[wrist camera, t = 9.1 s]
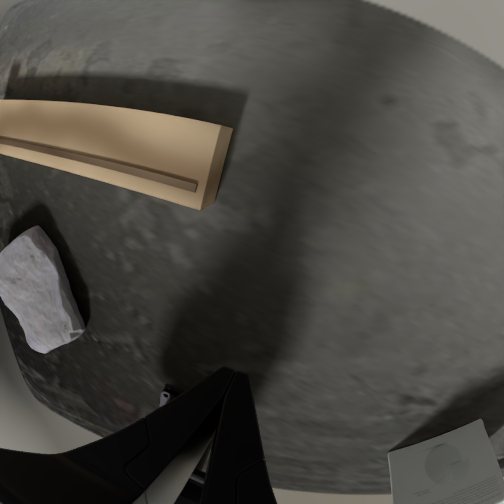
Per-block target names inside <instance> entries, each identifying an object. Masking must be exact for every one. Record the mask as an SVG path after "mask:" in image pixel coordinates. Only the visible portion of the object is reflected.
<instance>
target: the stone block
mask: <svg viewBox="0 0 504 504" xmlns="http://www.w3.org/2000/svg"><path fill="white" fill-rule="evenodd" d="M0 296H1V298H2V300H3V301H4V303H5V305H6V306H7V307H8V308H9V309H10V310H11V311H12V312H13V313H14V314H15V315H16V317H17V318H18V319H19V321H20V324H21V326H22V328H23V329H24V331H25V335H26V340H27V343H28V344H29V346H30V347H31V348H32V349H34V350H36V351H38V352H41V353H48V352H49V351H50V350H52V349H54V348H56V347H59V346H60V345H63V344H66V343H69V342H71V341H73V340H75V339H76V338H78V337H79V336H80V335H81V334H82V333H83V332H84V330H85V325H84V322H83V319H82V317H81V315H80V313H79V310H78V306H77V304H76V301H75V299H74V297H73V295H72V292H71V289H70V284H69V281H68V278H67V276H66V273H65V270H64V267H63V265H62V262H61V260H60V256H59V253H58V250H57V248H56V246H55V245H54V244H53V243H52V242H51V240H50V239H49V237H48V236H47V235H46V234H45V232H44V231H43V230H42V229H41V227H39V226H38V225H37V226H34V227H32V228H30V229H28V230H26V231H25V232H23V233H22V234H21V235H19V236H18V237H17V238H16V239H14V240H13V241H12V242H11V243H10V244H9V245H8V246H7V247H6V248H5V249H4V250H2V252H1V253H0Z"/></svg>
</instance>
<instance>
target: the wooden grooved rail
mask: <svg viewBox="0 0 504 504" xmlns="http://www.w3.org/2000/svg"><path fill="white" fill-rule="evenodd" d="M232 131H233V128H230V127H226V126H222V125H217V124H213V123H208V122H203V121H199V120H194V119H189V118H183V117H178V116H173V115H167V114H161V113H155V112H149V111H142V110H135V109H128V108H121V107H113V106H104V105H95V104H85V103H73V102H59V101H40V100H0V154H4V155H8V156H12V157H16V158H19V159H23V160H27V161H31V162H34V163H38V164H42V165H46V166H49V167H53V168H57V169H60V170H64V171H68V172H71V173H75V174H78V175H82V176H85V177H89V178H93V179H96V180H100V181H103V182H107V183H110V184H114V185H117V186H121V187H124V188H127V189H131V190H134V191H138V192H141V193H144V194H148V195H151V196H155V197H158V198H161V199H165V200H168V201H171V202H175V203H178V204H181V205H185V206H188V207H191V208H194V209H198V210H202V209H204V208H206V207H208V206H210V205H212V204H214V202H215V198H216V193H217V189H218V185H219V181H220V177H221V173H222V169H223V165H224V161H225V157H226V153H227V150H228V146H229V142H230V138H231V134H232Z"/></svg>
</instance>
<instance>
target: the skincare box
mask: <svg viewBox="0 0 504 504" xmlns="http://www.w3.org/2000/svg"><path fill="white" fill-rule="evenodd" d="M388 460H389V469H390V479H391V490H392V504H504V480H503V476H502V473H501V470H500V468H499V465H498V462H497V459H496V456H495V453H494V450H493V448H492V445H491V442H490V440H489V437H488V435H487V432H486V430H485V427H484V423H483V420H482V419H481V418H480V419H478V420H476V421H474V422H471V423H469V424H467V425H465V426H462V427H460V428H458V429H455V430H453V431H450V432H448V433H445V434H442V435H440V436H437V437H434V438H432V439H429V440H426V441H423V442H420V443H417V444H414V445H411V446H408V447H405V448H402V449H398V450H394V451H391V452H389V453H388Z"/></svg>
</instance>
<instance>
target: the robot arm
mask: <svg viewBox="0 0 504 504" xmlns="http://www.w3.org/2000/svg"><path fill="white" fill-rule="evenodd" d="M210 449H211V453H210V458H209V462H208V466H207V471H206V473H205V472H203V471H202V468H203V466H204V464H205V461H206V459H207V457H208V454H209V452H210ZM264 459H265V457H264V452H263V446H262V441H261V436H260V431H259V425H258V420H257V414H256V409H255V404H254V398H253V392H252V387H251V381H250V376H249V375H248V374H246V373H243V372H240V371H236V372H235V370H234V369H230V368H227V367H221V368H219V369H218V370H216V371H215V372H213V373H212V374H211V375H209V376H208V377H206V378H205V379H203V380H202V381H200V382H199V383H197V384H196V385H194V386H193V387H191V388H189V389H188V390H186V391H185V392H183V393H182V394H180V395H179V394H177V393H175V392H172V391H170V390H167V389H164V390H163V391H162V393H161V398H160V408H158V409H157V410H155V411H153V412H152V413H150V414H148V415H147V416H145V418H142V419H140V420H138V421H137V422H135V423H133V424H131V425H130V426H128V427H126V428H124V429H122V430H120V431H118V432H116V433H114V434H111V435H109V436H107V437H105V438H102V439H100V440H97V441H94V442H92V443H89V444H87V445H84V446H81V447H79V448H76V449H73V450H70V451H67V452H64V453H58V454H40V453H31V452H23V451H16V450H9V449H3V448H0V504H277V502H276V499H275V496H274V493H273V490H272V487H271V484H270V480H269V475H268V471H267V466H266V461H265V460H264Z"/></svg>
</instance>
